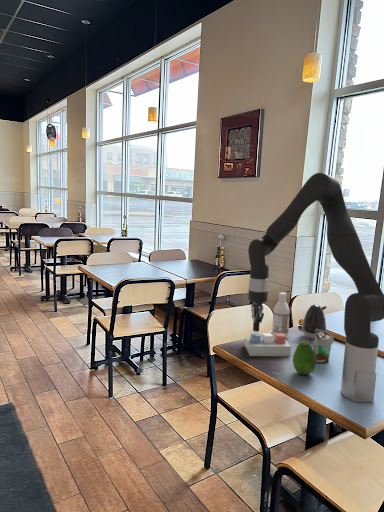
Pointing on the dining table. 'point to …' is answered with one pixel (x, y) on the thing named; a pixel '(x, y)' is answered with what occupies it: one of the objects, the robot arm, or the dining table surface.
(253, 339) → the blue key
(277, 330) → the bath foam
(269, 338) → the white key
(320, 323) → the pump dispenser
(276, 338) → the red key
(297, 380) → the dining table surface
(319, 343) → the food container
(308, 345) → the avocado
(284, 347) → the button panel
